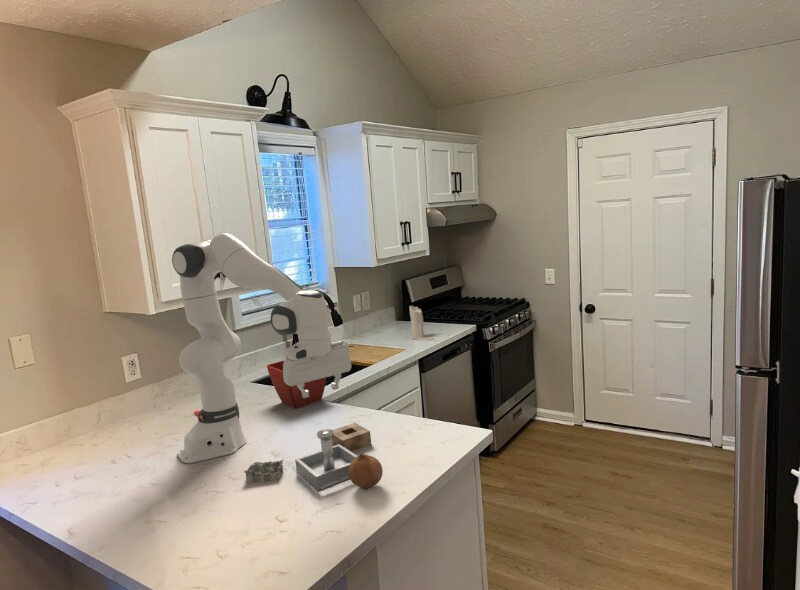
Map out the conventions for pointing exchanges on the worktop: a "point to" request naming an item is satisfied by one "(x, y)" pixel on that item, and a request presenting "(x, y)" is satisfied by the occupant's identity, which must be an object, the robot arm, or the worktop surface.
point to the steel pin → (327, 448)
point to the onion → (365, 471)
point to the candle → (417, 324)
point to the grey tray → (327, 476)
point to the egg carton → (264, 467)
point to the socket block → (351, 437)
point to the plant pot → (295, 388)
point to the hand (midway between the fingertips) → (320, 392)
